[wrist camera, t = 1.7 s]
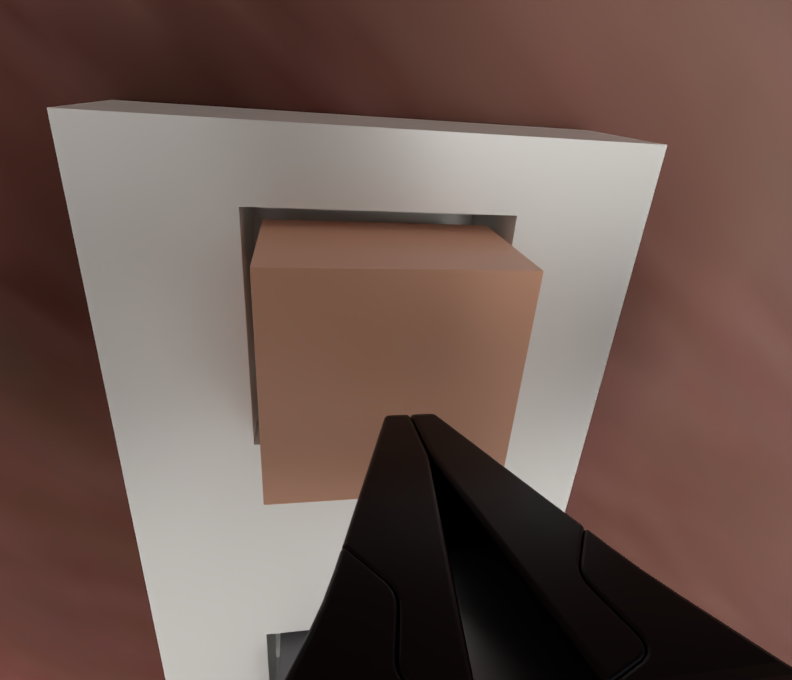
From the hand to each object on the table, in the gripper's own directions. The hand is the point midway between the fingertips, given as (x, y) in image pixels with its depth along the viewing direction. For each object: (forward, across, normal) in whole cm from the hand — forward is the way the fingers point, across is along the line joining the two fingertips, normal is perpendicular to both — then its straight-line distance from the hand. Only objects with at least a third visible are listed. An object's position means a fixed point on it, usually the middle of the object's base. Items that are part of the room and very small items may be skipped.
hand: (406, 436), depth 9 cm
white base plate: (+7, 0, +6) cm, 10 cm away
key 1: (+4, 0, 0) cm, 4 cm away
